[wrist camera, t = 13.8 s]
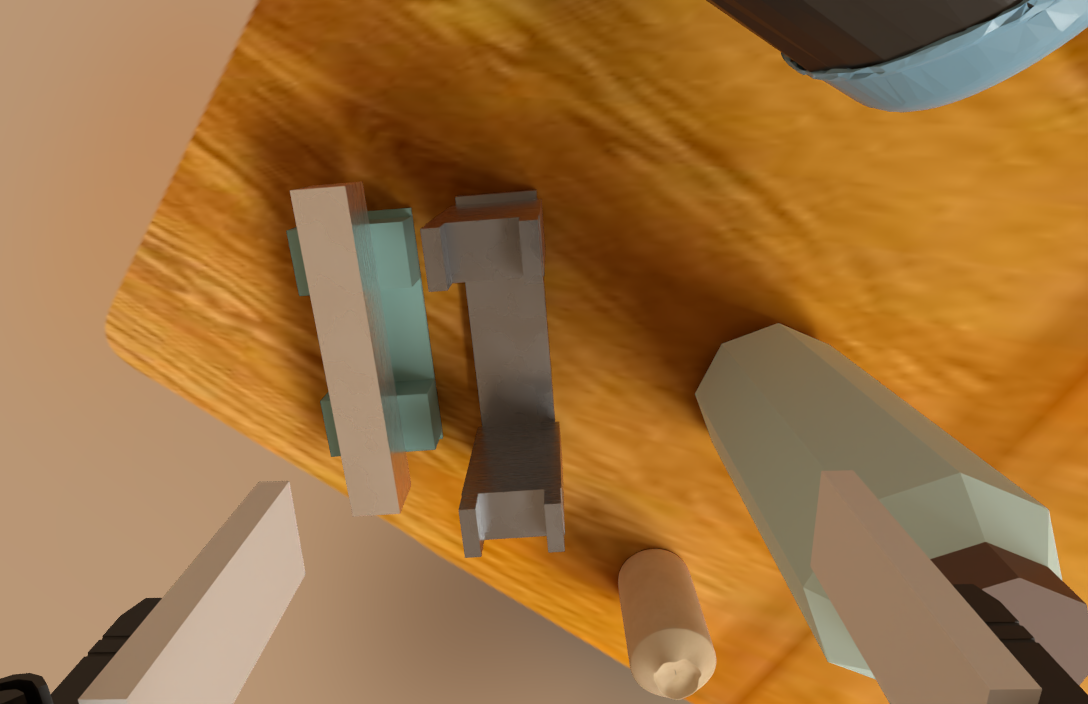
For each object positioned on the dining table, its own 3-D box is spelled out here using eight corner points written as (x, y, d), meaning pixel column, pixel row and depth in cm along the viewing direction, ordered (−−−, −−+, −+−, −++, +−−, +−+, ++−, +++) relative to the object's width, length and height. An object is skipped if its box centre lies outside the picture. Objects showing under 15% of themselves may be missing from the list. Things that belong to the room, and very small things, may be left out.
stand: (452, 196, 42) (417, 218, 31) (541, 188, 42) (537, 208, 31) (484, 465, 48) (465, 565, 37) (562, 460, 48) (566, 559, 36)
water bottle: (661, 386, 46) (781, 659, 22) (776, 287, 43) (1048, 471, 20) (752, 479, 48) (952, 819, 24) (866, 389, 46) (1211, 666, 22)
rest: (302, 216, 42) (284, 222, 39) (411, 207, 42) (401, 213, 39) (345, 443, 47) (332, 463, 44) (443, 436, 47) (436, 456, 44)
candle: (606, 562, 50) (619, 662, 41) (674, 537, 49) (704, 633, 40) (633, 617, 52) (651, 726, 42) (699, 594, 51) (734, 699, 41)
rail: (311, 185, 39) (289, 190, 35) (362, 181, 39) (345, 185, 35) (367, 488, 45) (352, 516, 42) (411, 485, 45) (400, 513, 42)
